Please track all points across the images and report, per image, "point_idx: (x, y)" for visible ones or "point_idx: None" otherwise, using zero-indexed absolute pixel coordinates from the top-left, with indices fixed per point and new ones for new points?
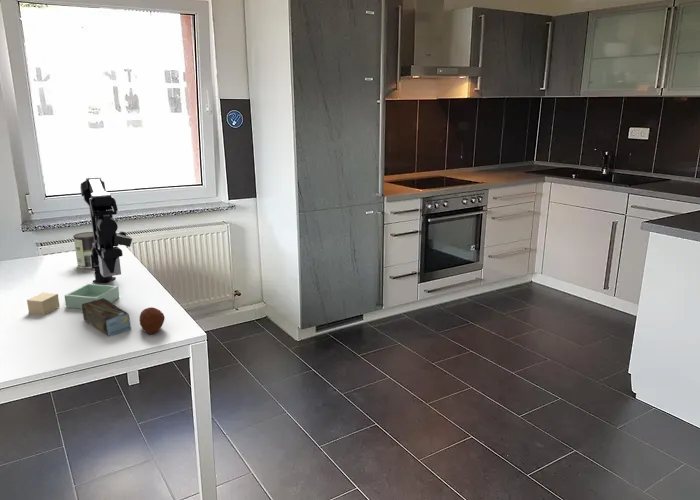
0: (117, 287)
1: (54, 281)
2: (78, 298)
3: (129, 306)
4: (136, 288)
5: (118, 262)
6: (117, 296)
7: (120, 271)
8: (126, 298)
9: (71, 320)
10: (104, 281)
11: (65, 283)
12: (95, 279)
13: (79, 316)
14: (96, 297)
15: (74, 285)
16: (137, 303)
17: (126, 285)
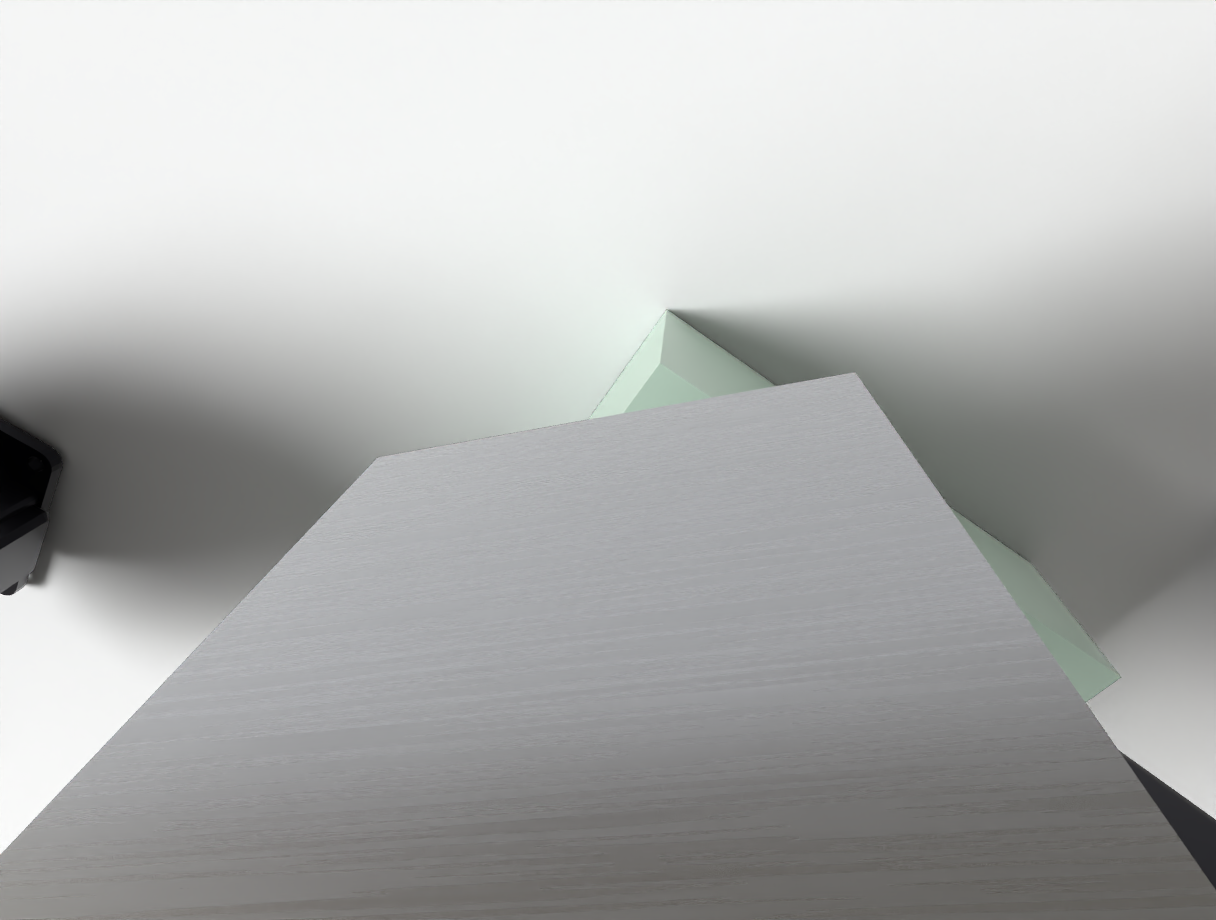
0: (680, 370)
1: (3, 842)
2: None
3: (1157, 165)
4: (306, 32)
5: (1031, 707)
6: (700, 341)
7: (882, 421)
8: (745, 207)
9: (1181, 778)
10: (20, 481)
11: (56, 781)
12: (10, 585)
13: (1110, 719)
14: (1083, 672)
15: (116, 726)
16: (1095, 20)
17: (145, 199)
